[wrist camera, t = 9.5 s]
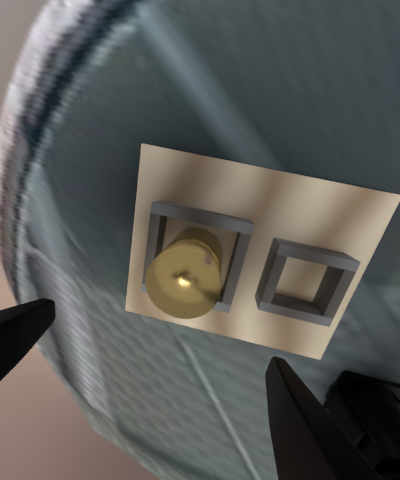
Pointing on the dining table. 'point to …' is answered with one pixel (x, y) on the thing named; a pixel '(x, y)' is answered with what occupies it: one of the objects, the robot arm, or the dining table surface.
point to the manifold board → (259, 244)
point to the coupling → (186, 275)
